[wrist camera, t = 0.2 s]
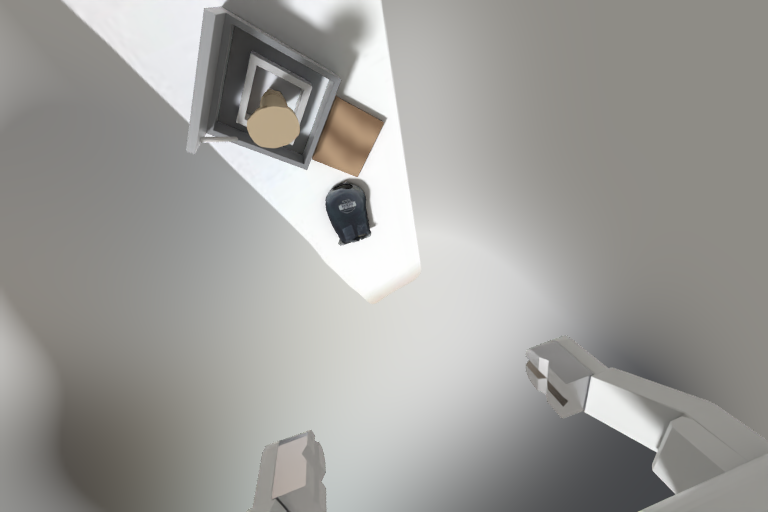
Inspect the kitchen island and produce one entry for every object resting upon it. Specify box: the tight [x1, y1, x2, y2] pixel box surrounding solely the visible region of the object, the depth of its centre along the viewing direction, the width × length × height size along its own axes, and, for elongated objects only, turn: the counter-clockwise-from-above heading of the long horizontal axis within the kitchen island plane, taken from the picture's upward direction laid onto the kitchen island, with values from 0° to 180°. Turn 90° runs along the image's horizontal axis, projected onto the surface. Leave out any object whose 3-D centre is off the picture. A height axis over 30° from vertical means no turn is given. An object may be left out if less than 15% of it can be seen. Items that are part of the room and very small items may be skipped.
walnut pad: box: [312, 96, 384, 177], centre depth 53 cm, size 12×10×1 cm
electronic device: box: [326, 181, 371, 246], centre depth 63 cm, size 9×6×15 cm
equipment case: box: [186, 7, 341, 170], centre depth 41 cm, size 16×17×13 cm
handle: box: [247, 89, 300, 148], centre depth 40 cm, size 5×6×15 cm
